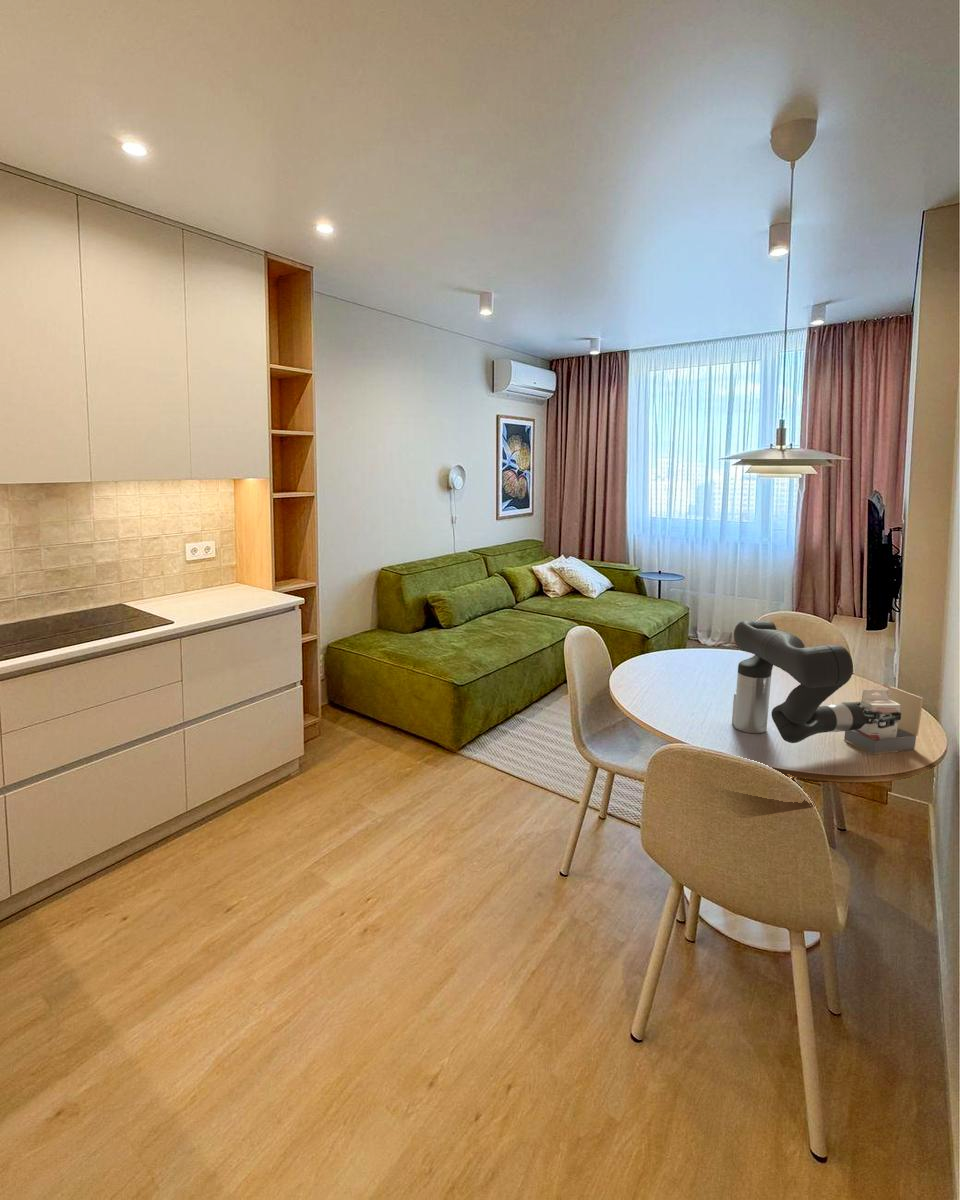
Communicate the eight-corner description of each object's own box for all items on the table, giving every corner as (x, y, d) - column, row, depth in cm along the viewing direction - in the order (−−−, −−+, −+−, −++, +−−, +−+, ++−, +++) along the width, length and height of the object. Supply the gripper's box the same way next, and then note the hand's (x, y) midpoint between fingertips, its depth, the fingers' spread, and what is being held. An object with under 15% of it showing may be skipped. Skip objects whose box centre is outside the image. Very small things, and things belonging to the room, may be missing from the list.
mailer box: (844, 740, 180) (849, 690, 177) (885, 735, 184) (891, 686, 181) (873, 755, 171) (880, 702, 168) (916, 749, 174) (923, 697, 171)
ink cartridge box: (867, 745, 174) (872, 694, 171) (855, 738, 179) (860, 688, 176) (896, 744, 174) (902, 694, 172) (884, 737, 179) (890, 688, 177)
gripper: (864, 713, 164) (915, 708, 168) (821, 695, 178) (870, 690, 182) (860, 740, 165) (911, 734, 170) (819, 720, 179) (866, 715, 183)
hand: (889, 711), depth 176 cm, fingers closed on ink cartridge box, 5 cm apart
